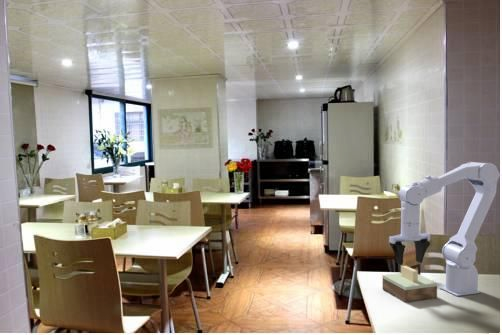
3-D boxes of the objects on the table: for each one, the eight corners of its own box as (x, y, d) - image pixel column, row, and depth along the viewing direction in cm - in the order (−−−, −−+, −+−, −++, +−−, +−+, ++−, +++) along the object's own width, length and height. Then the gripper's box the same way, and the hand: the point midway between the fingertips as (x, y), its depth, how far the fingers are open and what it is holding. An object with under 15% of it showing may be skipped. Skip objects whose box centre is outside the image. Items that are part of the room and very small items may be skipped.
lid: (412, 276, 143) (412, 261, 143) (437, 288, 131) (437, 272, 131) (382, 280, 139) (382, 265, 139) (405, 292, 128) (405, 276, 128)
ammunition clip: (404, 283, 146) (405, 249, 145) (399, 281, 147) (400, 248, 147) (420, 276, 153) (421, 245, 152) (416, 275, 154) (416, 244, 153)
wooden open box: (412, 285, 143) (412, 274, 143) (436, 298, 132) (437, 285, 131) (382, 289, 140) (382, 278, 139) (405, 302, 128) (405, 290, 128)
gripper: (399, 226, 128) (398, 268, 129) (437, 223, 132) (436, 264, 133) (385, 221, 135) (384, 262, 136) (422, 219, 139) (421, 258, 140)
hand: (409, 263), depth 135 cm, fingers open, 7 cm apart
